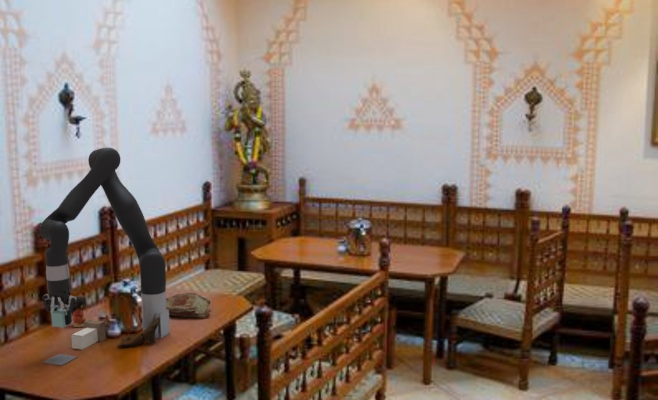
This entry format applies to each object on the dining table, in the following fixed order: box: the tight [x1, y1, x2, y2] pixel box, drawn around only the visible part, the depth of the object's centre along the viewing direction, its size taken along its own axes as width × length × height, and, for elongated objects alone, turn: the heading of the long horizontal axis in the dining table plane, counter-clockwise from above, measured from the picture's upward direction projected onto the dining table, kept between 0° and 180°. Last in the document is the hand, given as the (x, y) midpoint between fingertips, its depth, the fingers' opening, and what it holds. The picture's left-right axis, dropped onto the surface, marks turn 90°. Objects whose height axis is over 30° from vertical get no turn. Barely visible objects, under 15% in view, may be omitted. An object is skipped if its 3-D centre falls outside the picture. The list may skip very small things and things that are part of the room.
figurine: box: [72, 295, 87, 328], centre depth 287 cm, size 6×6×12 cm
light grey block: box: [70, 319, 107, 350], centre depth 268 cm, size 7×12×7 cm, turn 161°
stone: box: [166, 292, 211, 319], centre depth 303 cm, size 24×18×6 cm
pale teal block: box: [50, 308, 73, 328], centre depth 253 cm, size 4×5×5 cm
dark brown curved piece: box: [117, 317, 160, 348], centre depth 266 cm, size 8×10×15 cm
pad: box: [42, 353, 78, 366], centre depth 252 cm, size 8×8×1 cm
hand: (62, 323), depth 253 cm, fingers closed on pale teal block, 4 cm apart
